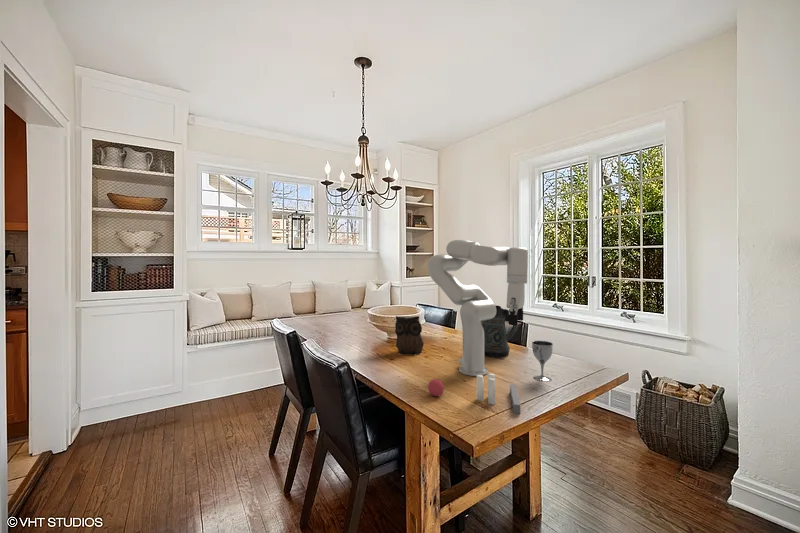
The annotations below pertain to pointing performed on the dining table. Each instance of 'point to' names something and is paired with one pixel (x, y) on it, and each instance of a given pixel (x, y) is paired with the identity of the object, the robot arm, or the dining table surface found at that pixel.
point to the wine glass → (542, 356)
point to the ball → (435, 387)
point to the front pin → (480, 387)
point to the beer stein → (497, 334)
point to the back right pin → (491, 391)
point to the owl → (408, 335)
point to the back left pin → (491, 376)
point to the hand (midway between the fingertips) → (516, 322)
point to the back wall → (515, 399)
